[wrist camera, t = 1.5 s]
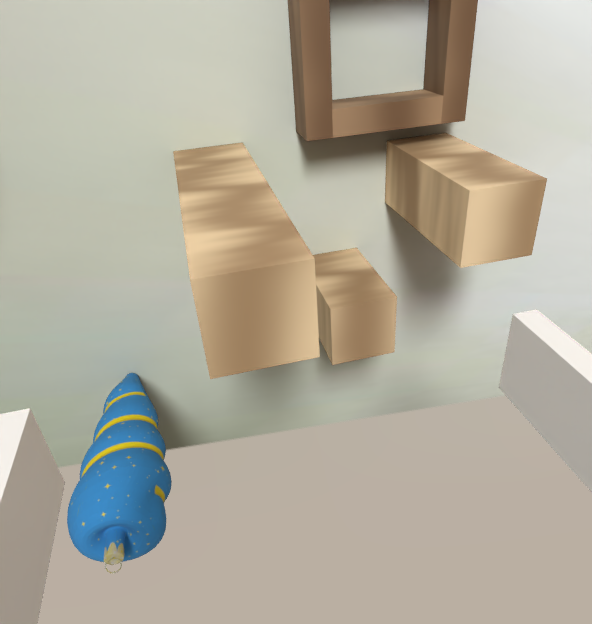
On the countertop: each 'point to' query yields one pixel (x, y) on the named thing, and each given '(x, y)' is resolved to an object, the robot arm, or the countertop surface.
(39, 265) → the countertop surface
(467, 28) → the collar block
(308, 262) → the long pin
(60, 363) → the countertop surface
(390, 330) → the short pin
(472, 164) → the medium pin
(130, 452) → the ornament
